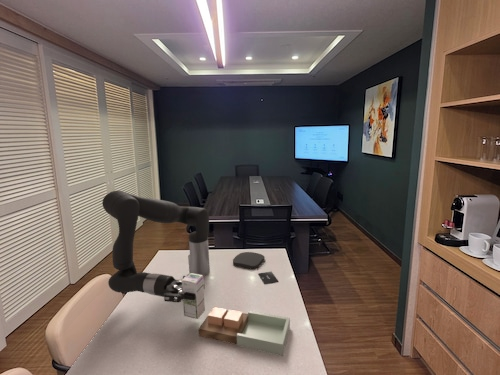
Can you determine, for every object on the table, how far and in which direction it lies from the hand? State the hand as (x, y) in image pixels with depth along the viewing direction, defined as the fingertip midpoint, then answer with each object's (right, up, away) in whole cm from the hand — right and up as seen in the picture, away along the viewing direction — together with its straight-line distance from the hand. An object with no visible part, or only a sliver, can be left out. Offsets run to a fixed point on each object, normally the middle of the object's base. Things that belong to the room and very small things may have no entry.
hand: (199, 291), depth 100 cm
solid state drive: (+26, -6, +34) cm, 44 cm away
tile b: (+12, -10, -2) cm, 16 cm away
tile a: (+6, -10, 0) cm, 12 cm away
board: (+9, -13, 0) cm, 16 cm away
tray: (+22, -13, -4) cm, 26 cm away
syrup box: (-2, -9, +3) cm, 10 cm away
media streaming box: (+17, -3, +51) cm, 54 cm away
